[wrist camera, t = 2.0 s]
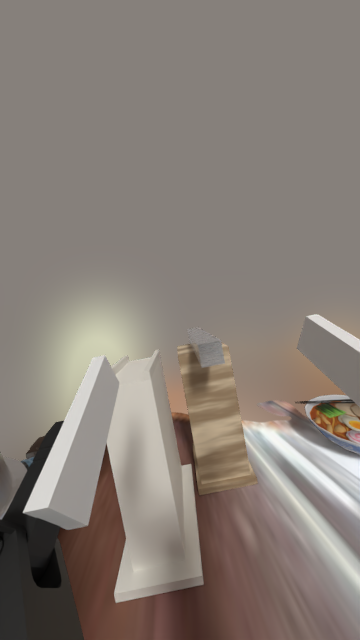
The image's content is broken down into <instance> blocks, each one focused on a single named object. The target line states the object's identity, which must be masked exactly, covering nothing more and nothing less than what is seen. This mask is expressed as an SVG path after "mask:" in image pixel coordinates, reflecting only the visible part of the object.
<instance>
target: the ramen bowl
mask: <svg viewBox="0 0 360 640" xmlns="http://www.w3.org/2000/svg"><path fill="white" fill-rule="evenodd" d="M302 402H303V401H302ZM304 402H307V404H306V406H305V411H306V415H307V417H308V418H309V420H310V421H311V422H312V423H313V424H314V425H315V426H316V427H317V428H318V429H319V430H320V431H321V432H322V433H323V434H324V435H325V436H326V437H327V438H328V439H329V440H331V441H332V442H334V443H336V444H337V445H339V446H341V447H342V448H344V449H346V450H349V451H352V452H354V453H357V454H360V407H359V406H358V405H357V404H356V403H355V402H354V401H353V400H351V399H350V398H349V397H348V396H347V395H326V396H318V397H316V398H313V399H311V400H309V401H304Z"/></svg>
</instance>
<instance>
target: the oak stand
mask: <svg viewBox="0 0 360 640" xmlns="http://www.w3.org/2000/svg"><path fill="white" fill-rule="evenodd" d="M221 343H222V342H221ZM222 349H223V354H224V360H225V364H220V365H214V366H209V367H204V368H202V367H201V365H200V363H199V361H198V359H197V357H196V355H195V353H194V350H193V348H192V346H191V344H187V345H182V346H178V359H179V364H180V370H181V375H182V381H183V386H184V391H185V397H186V402H187V408H188V413H189V419H190V424H191V429H192V435H193V440H194V444H192V445H193V453H194V461H195V469H196V477H197V485H198V492H199V495H204V494H209V493H214V492H219V491H224V490H229V489H234V488H239V487H244V486H249V485H254V484H258V482H257V477H256V475H255V473H254V471H253V469H252V467H251V465H250V463H249V461H248V456H247V450H246V445H245V439H244V433H243V427H242V422H241V416H240V410H239V404H238V399H237V394H236V387H235V381H234V375H233V369H232V364H231V358H230V352H229V347H228V346H227V345H225V344H224V343H222Z"/></svg>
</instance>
